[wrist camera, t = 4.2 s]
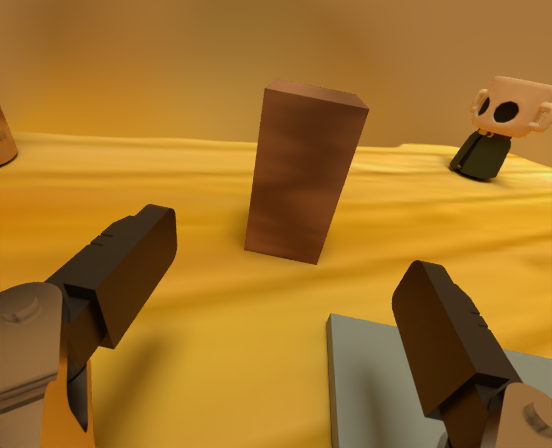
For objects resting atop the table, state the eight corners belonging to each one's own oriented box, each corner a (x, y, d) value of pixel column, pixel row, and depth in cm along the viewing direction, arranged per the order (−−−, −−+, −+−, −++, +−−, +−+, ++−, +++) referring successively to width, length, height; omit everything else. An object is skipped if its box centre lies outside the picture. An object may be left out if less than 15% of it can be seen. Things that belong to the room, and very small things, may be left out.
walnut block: (244, 250, 18) (264, 88, 12) (257, 212, 22) (277, 78, 17) (316, 264, 18) (369, 109, 12) (316, 224, 22) (355, 94, 17)
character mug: (426, 159, 44) (471, 71, 37) (456, 160, 47) (504, 78, 40) (485, 191, 36) (557, 85, 29) (518, 190, 39) (592, 93, 31)
